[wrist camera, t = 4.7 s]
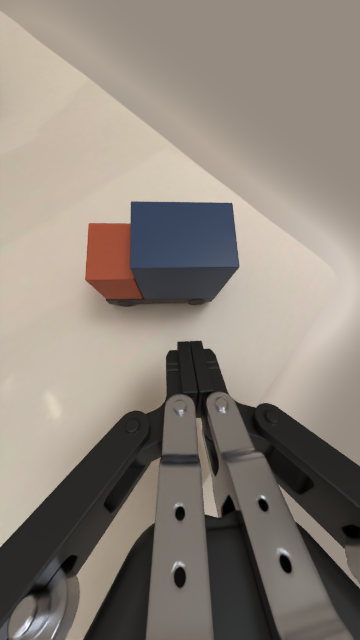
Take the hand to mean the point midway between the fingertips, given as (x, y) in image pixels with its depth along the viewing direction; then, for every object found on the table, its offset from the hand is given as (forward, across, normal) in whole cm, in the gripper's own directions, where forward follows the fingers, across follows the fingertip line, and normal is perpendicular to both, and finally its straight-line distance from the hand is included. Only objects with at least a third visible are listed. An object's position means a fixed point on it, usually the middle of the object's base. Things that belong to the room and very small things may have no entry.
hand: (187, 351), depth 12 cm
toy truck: (+11, +2, 0) cm, 11 cm away
